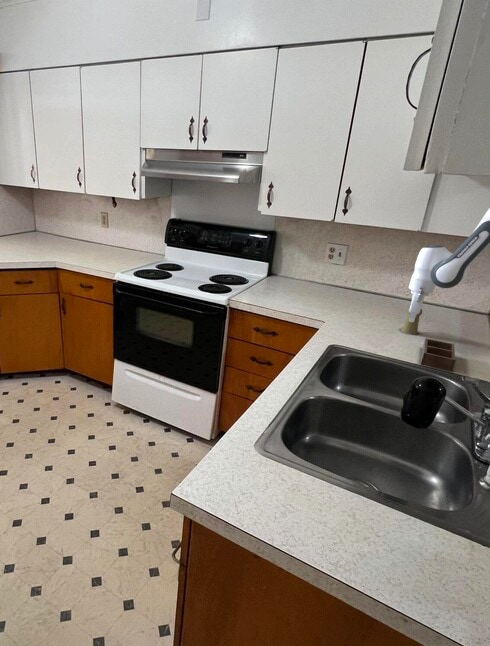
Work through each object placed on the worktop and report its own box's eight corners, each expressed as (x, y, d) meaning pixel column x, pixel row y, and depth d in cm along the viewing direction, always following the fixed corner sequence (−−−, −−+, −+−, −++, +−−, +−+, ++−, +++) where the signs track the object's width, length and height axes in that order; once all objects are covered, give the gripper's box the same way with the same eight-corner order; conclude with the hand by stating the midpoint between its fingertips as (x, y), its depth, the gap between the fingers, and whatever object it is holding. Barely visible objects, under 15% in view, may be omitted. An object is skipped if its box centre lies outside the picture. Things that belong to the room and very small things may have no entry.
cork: (410, 329, 180) (417, 304, 175) (420, 335, 174) (428, 309, 170) (397, 329, 178) (404, 304, 174) (407, 335, 173) (414, 309, 169)
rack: (450, 355, 155) (454, 344, 153) (451, 372, 141) (455, 360, 139) (422, 349, 159) (425, 338, 157) (420, 365, 145) (424, 352, 143)
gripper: (430, 292, 159) (419, 327, 164) (431, 282, 176) (421, 314, 181) (411, 289, 162) (401, 323, 167) (414, 279, 178) (405, 310, 184)
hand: (411, 318), depth 174 cm, fingers open, 8 cm apart
